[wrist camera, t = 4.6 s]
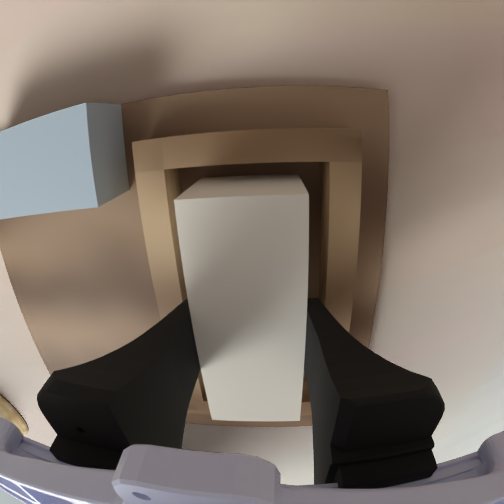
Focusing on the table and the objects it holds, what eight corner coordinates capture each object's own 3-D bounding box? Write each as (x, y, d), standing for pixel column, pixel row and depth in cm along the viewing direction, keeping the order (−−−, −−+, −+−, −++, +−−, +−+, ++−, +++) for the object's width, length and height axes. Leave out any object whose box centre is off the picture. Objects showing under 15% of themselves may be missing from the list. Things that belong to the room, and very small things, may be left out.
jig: (348, 414, 20) (354, 445, 17) (69, 395, 21) (55, 418, 19) (381, 91, 12) (405, 86, 9) (-10, 145, 14) (-42, 153, 11)
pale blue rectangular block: (129, 189, 14) (98, 207, 11) (4, 207, 14) (-30, 224, 12) (121, 104, 12) (86, 102, 9) (-6, 142, 13) (-42, 150, 10)
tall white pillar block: (296, 364, 17) (299, 420, 13) (223, 364, 17) (211, 419, 13) (298, 173, 13) (308, 194, 9) (201, 178, 13) (173, 199, 9)
